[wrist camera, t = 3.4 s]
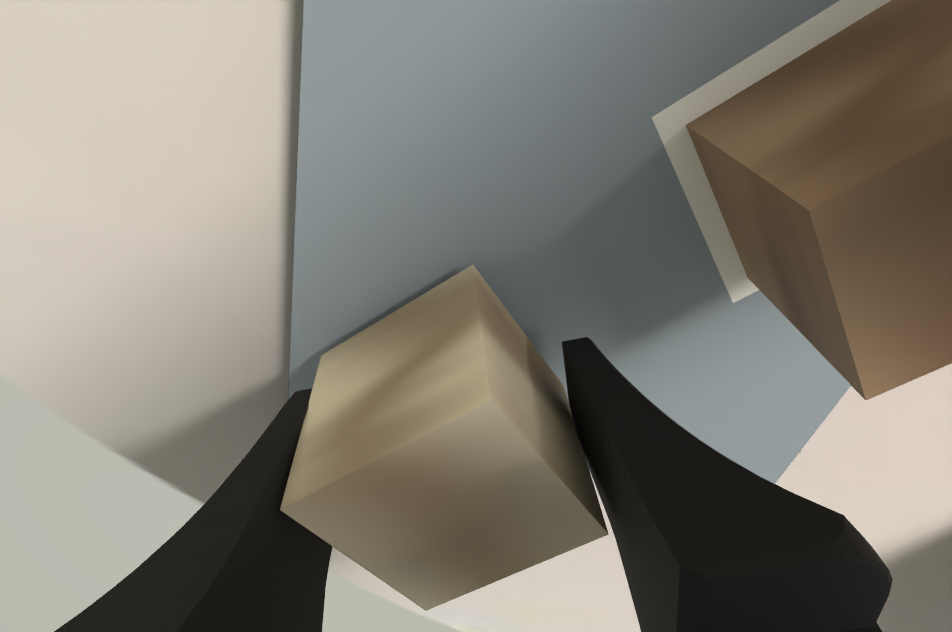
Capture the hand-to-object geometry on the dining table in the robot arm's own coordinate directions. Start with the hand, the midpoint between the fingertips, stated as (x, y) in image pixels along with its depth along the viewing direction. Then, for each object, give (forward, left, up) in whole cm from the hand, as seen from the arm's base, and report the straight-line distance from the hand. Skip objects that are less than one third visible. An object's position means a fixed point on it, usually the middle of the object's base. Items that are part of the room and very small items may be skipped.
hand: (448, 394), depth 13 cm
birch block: (0, 0, -1) cm, 1 cm away
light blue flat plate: (-4, -3, -2) cm, 6 cm away
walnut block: (-7, -7, -1) cm, 10 cm away
